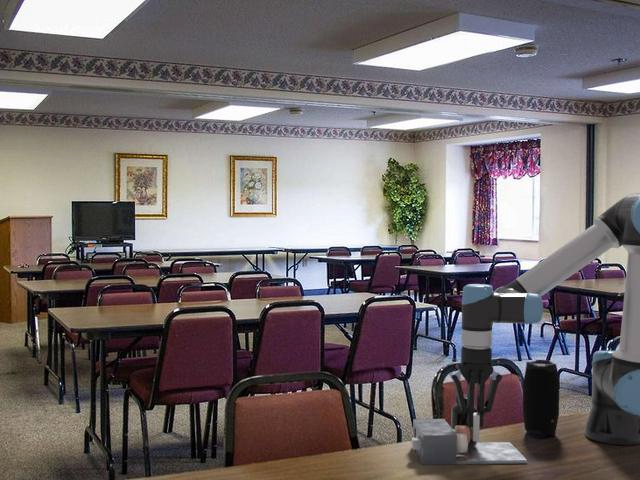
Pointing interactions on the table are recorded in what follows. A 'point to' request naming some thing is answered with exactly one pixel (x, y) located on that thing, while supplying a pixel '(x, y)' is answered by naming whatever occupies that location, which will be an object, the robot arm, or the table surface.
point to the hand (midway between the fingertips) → (474, 439)
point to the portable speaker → (541, 398)
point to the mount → (443, 447)
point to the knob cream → (461, 443)
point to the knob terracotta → (460, 431)
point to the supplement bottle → (460, 416)
